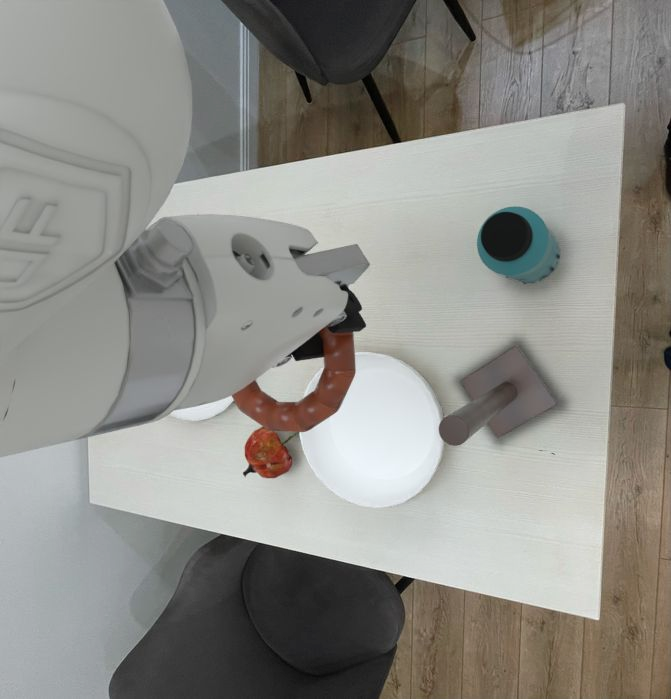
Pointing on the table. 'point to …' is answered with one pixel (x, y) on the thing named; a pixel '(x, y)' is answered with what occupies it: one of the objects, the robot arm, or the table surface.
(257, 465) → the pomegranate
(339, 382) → the ring
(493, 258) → the beverage bottle
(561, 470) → the table surface
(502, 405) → the peg post
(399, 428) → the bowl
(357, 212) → the table surface
